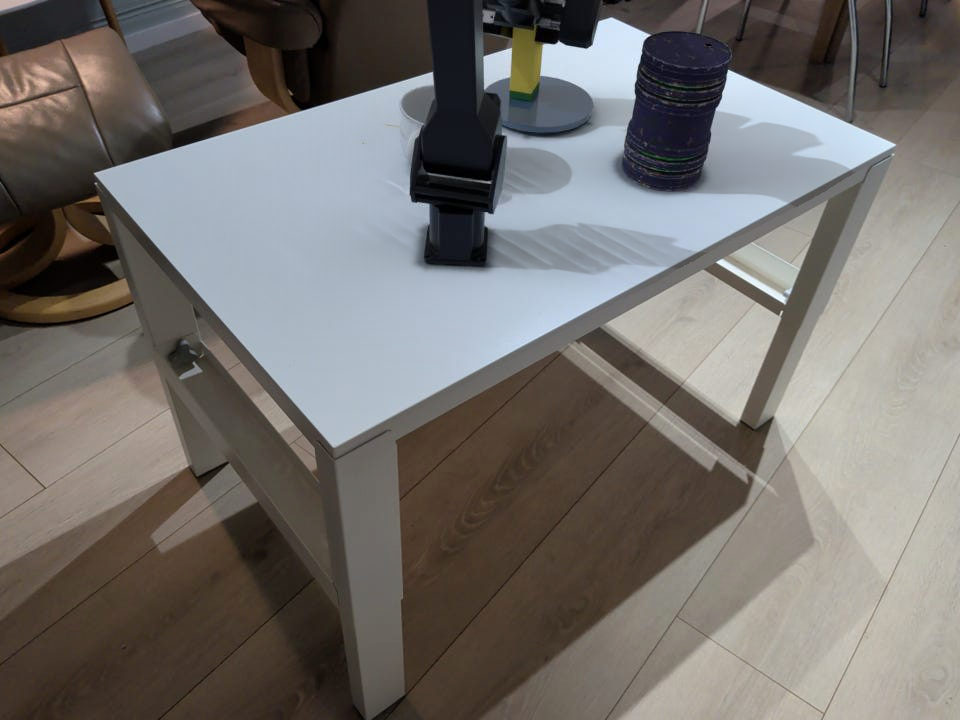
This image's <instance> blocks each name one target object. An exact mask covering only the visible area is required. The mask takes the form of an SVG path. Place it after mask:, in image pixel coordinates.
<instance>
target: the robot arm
mask: <svg viewBox="0 0 960 720" xmlns="http://www.w3.org/2000/svg"><path fill="white" fill-rule="evenodd" d="M603 7H604V2H603V0H426V10H427V21H428V22H427V23H428V34H429V35H428V36H429V42H430V43H429V44H430V45H429V46H430V57H431V69H432V79H433V85H434V93H435V99H434V100H433V101H432V104H431V107H430V110H429V113H428V115H427V118H426V121H425V124H424V125H422V127H421V130H420V133H419V136H418V137H417V138H416V139H415V142H414V149H413V156H412V164H411V165H410V171H409V172H410V173H409V196H410V201H411V203H412V204H413V203H414V204H418V203H419V204H420V203H421V204H427V205H428V215H429V224H428V225H427V228H426V229H427V230H426V238H425V244H424V251H423V262H424V263H426V264H439V265H458V266H459V265H460V266H479V267H483V266H486V265H487V260H488V240H489V239H488V238H489V228H488V227H487V226H485V225H486V224H485V222H486V213H487V214H488V215H495V212H496V209H497V207H498V204H499V200H500V198H501V195H502V192H503V187H504V179H505V178H504V176H505V168H506V159H507V149H508V135H505V134H503V125H502V119H501V100H500V98H499V96H498V94H496V93H488V92H485V91H484V90H485V61H484V34H487V35H491V36H496V37H500V38H505V39H508V40H513V27H515V28H521V29H527V30H533V31H534V27H535V25H538V27H537V31H536V35H535V39H534V41H535V42H536V43H538V44H540V45H543V46H545V45H554V46H555V45H557V44H558V43H561V44H563V45H564V46H567V47H573V48H579V49H585V50H588V49H589V48H590V47H592V46H593V45H594V42H595V41H594V40H595V37H596V33H597V29H598V25H599V22H600V17H601V13H602V9H603ZM429 173H432V174H439V175H446V176H453V177H458V178H448V177H441V176H434V175H429ZM467 179H468V180H467ZM481 181H482V182H481ZM489 182H490V183H489Z"/></svg>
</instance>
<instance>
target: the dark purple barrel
mask: <svg viewBox="0 0 960 720" xmlns="http://www.w3.org/2000/svg"><path fill="white" fill-rule="evenodd" d="M732 57H733V53H732V50H731V48H730V46H729V45H727V44H726V43H724V42H723V41H721V40H719V39H717V38H715V37H712V36H710V35H706V34H703V33H699V32H693V31H686V30H668V31H667V30H666V31H659V32H655V33H652V34H651V35H649V36H648V37H646V38H645V39H643V43H642V48H641V55H640V59H639V62H638V65H637V69H636V74H635V75H636V79H635V82H634V95H635V99H634V104H633V108H632V109H633V110H632V115H631V118H630V119H629V121H628V124H627V127H626V134H625V137H624V142H623V157H622V160H621V170H622V172H623V175H625V176H626V177H627V178H628V179H629V180H630V181H631V182H634V184H637V185H639V186H641V187H645V188H647V189H651V190H656V191H664V192H675V191H682V190H683V191H684V190H687V189H689V188H691V187H695V185H697V183H698V182H700V179H701V176H702V172H703V171H702V169H703V168H704V166H705V165H704V164H705V162H706V160H707V158H708V155H709V154H708V153H709V148H710V143H711V141H712V131H711V130H712V125H713V122H714V119H715V115H716V110H717V108H718V107H719V105H720V103H721V101H722V99H723V93H724V90H725V87H726V84H727V80H728V72H729V67H730V64H731V61H732Z"/></svg>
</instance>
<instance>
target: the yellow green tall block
mask: <svg viewBox="0 0 960 720" xmlns="http://www.w3.org/2000/svg"><path fill="white" fill-rule="evenodd" d="M537 27H538V25H535V27H534V31H533V30H527V29H521V28H515V27H513V40H512V39H511V40H512V41H511V59H510V74H509V75H510V76H509V77H510V92H509V98H515V99H521V100H526V101H531V100H532V98H533V97H534V95H535V93H536V92H537V90H538V89H539V85H540V76H541V72H542V61H543V48H544V45H540V44H538V43H536V42H535V41H534V39H535V35H536V31H537Z"/></svg>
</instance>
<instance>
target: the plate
mask: <svg viewBox="0 0 960 720" xmlns="http://www.w3.org/2000/svg"><path fill="white" fill-rule="evenodd" d="M484 91H485V92H488V93H496V94H498V96H499V98H500V100H501V119H502V126H504V127H506V128H510V129H514V130H517V131H522V132H528V133H529V132H530V133H540V134H541V133H542V134H543V133H544V134H545V133H546V134H547V133H558V132H565V131H568V130H569V131H570V130H572V129H575V128H577V127H580V126H581V125H584V124H585V123H586V122H588V120H589V119H590V118H591V117H592V115H593V113H594V101H593V98H592V96H591V95H590V94H589V93H588V92H587V91H586V90H585V89H584V88H582V87H581V86H579V85H576V84H575V83H572V81H567V80H564V79H561V78H558V77H553V76H547V75H540V85H539V89H538V90H537V92H536V93H535V95H534V97H533V98H532V100H531V101H526V100H521V99H515V98H509V92H510V76H509V77H505V78H502V79H498V80H497V81H494V82H492V83H491V84H489V85H488V86H487V87H485V88H484Z"/></svg>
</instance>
